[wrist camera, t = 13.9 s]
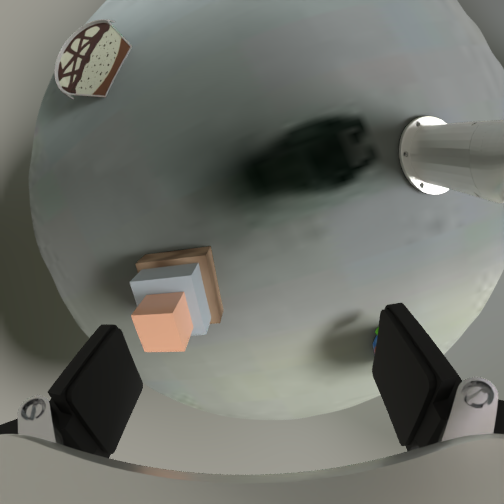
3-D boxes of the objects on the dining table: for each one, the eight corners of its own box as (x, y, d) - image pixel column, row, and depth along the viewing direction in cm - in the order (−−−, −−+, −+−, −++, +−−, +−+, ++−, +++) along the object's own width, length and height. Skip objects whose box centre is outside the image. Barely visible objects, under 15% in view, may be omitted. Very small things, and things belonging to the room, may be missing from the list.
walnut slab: (211, 245, 44) (205, 255, 40) (223, 308, 47) (220, 323, 43) (146, 253, 45) (135, 263, 40) (162, 313, 48) (154, 326, 44)
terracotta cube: (184, 291, 36) (172, 313, 31) (193, 327, 38) (184, 351, 33) (146, 294, 37) (131, 315, 32) (157, 328, 39) (144, 351, 33)
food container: (109, 32, 32) (79, 12, 23) (137, 39, 33) (108, 16, 23) (76, 96, 36) (39, 89, 26) (101, 105, 37) (65, 97, 27)
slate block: (198, 262, 40) (191, 275, 36) (211, 317, 43) (206, 334, 38) (141, 269, 41) (129, 282, 36) (157, 321, 43) (148, 337, 39)
